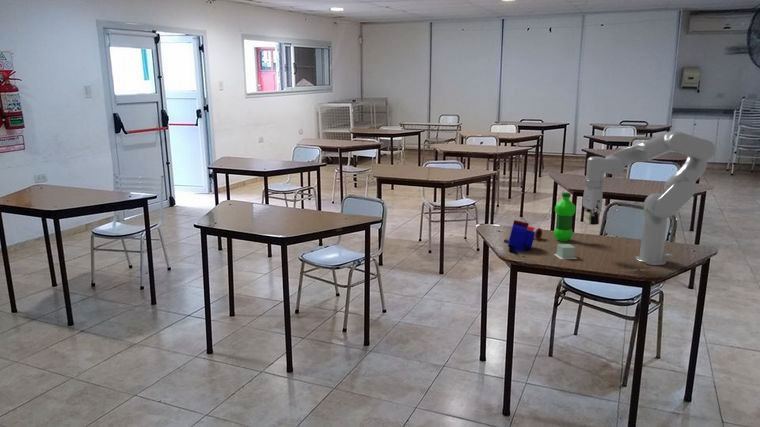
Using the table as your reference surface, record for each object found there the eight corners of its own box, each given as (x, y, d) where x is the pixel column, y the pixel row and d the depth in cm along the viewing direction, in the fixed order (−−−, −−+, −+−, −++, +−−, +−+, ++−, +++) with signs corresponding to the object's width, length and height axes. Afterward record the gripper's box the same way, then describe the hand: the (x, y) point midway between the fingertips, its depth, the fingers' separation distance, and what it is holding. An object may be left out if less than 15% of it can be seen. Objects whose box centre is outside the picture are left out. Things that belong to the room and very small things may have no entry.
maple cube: (593, 221, 264) (594, 211, 262) (598, 224, 259) (599, 213, 258) (583, 222, 263) (584, 211, 262) (588, 224, 258) (589, 213, 257)
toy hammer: (514, 245, 286) (514, 233, 284) (496, 240, 295) (497, 229, 294) (542, 239, 299) (543, 227, 298) (524, 234, 308) (525, 223, 307)
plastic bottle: (575, 243, 290) (579, 195, 285) (554, 242, 291) (558, 194, 286) (570, 238, 300) (574, 191, 295) (550, 237, 301) (553, 191, 296)
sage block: (568, 254, 266) (569, 244, 265) (574, 258, 260) (575, 247, 259) (556, 254, 265) (557, 244, 264) (562, 258, 260) (562, 247, 258)
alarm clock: (508, 246, 284) (509, 217, 281) (533, 248, 281) (535, 218, 278) (507, 252, 272) (509, 222, 269) (533, 254, 269) (535, 224, 266)
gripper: (577, 181, 265) (574, 219, 269) (595, 187, 248) (592, 227, 252) (593, 181, 266) (589, 218, 270) (611, 187, 249) (608, 227, 253)
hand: (591, 222), depth 261 cm, fingers closed on maple cube, 4 cm apart
